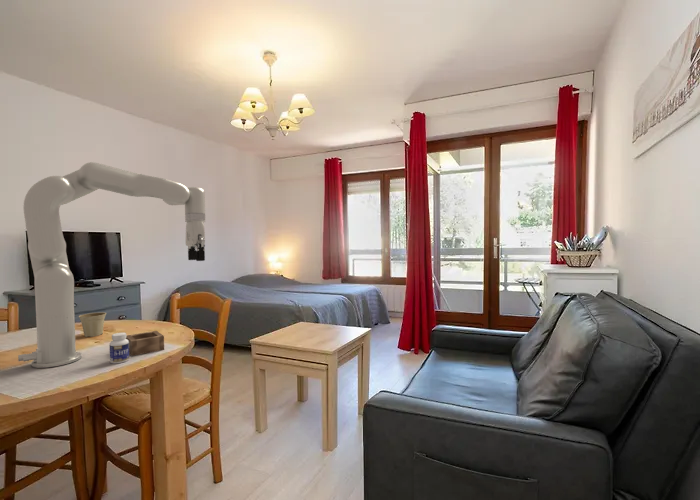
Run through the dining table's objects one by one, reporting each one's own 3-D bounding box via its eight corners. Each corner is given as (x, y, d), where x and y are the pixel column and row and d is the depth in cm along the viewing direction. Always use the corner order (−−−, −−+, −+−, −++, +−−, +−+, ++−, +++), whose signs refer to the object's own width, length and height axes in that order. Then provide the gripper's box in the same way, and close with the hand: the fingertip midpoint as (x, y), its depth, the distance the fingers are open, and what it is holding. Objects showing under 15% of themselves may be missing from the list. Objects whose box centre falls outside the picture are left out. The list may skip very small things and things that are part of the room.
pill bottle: (113, 365, 111) (112, 337, 111) (107, 361, 114) (106, 334, 114) (132, 360, 115) (131, 333, 115) (125, 357, 119) (124, 331, 118)
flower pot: (73, 337, 144) (72, 316, 144) (96, 331, 153) (95, 311, 153) (90, 338, 142) (89, 317, 141) (112, 332, 151) (111, 312, 150)
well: (132, 356, 120) (131, 341, 120) (126, 349, 127) (125, 335, 127) (164, 349, 126) (163, 335, 126) (156, 343, 134) (156, 330, 134)
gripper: (179, 219, 147) (180, 260, 148) (192, 216, 134) (193, 261, 135) (197, 219, 152) (198, 259, 153) (212, 217, 139) (213, 260, 140)
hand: (196, 260), depth 144 cm, fingers open, 9 cm apart
